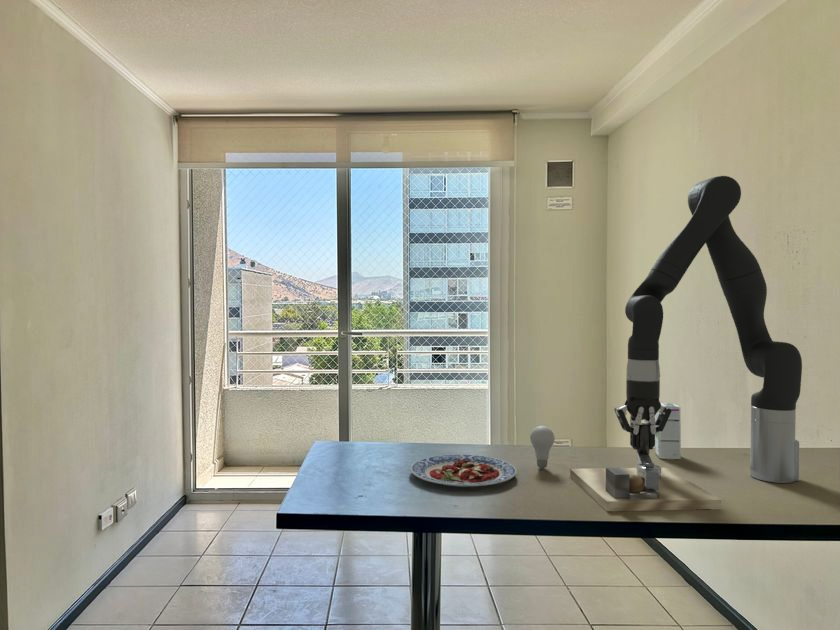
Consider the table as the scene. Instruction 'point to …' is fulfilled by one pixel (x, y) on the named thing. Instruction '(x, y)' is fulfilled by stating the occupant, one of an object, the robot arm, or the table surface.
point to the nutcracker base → (614, 491)
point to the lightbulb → (542, 444)
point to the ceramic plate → (463, 470)
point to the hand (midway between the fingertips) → (642, 448)
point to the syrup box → (669, 435)
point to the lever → (647, 460)
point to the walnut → (635, 484)
